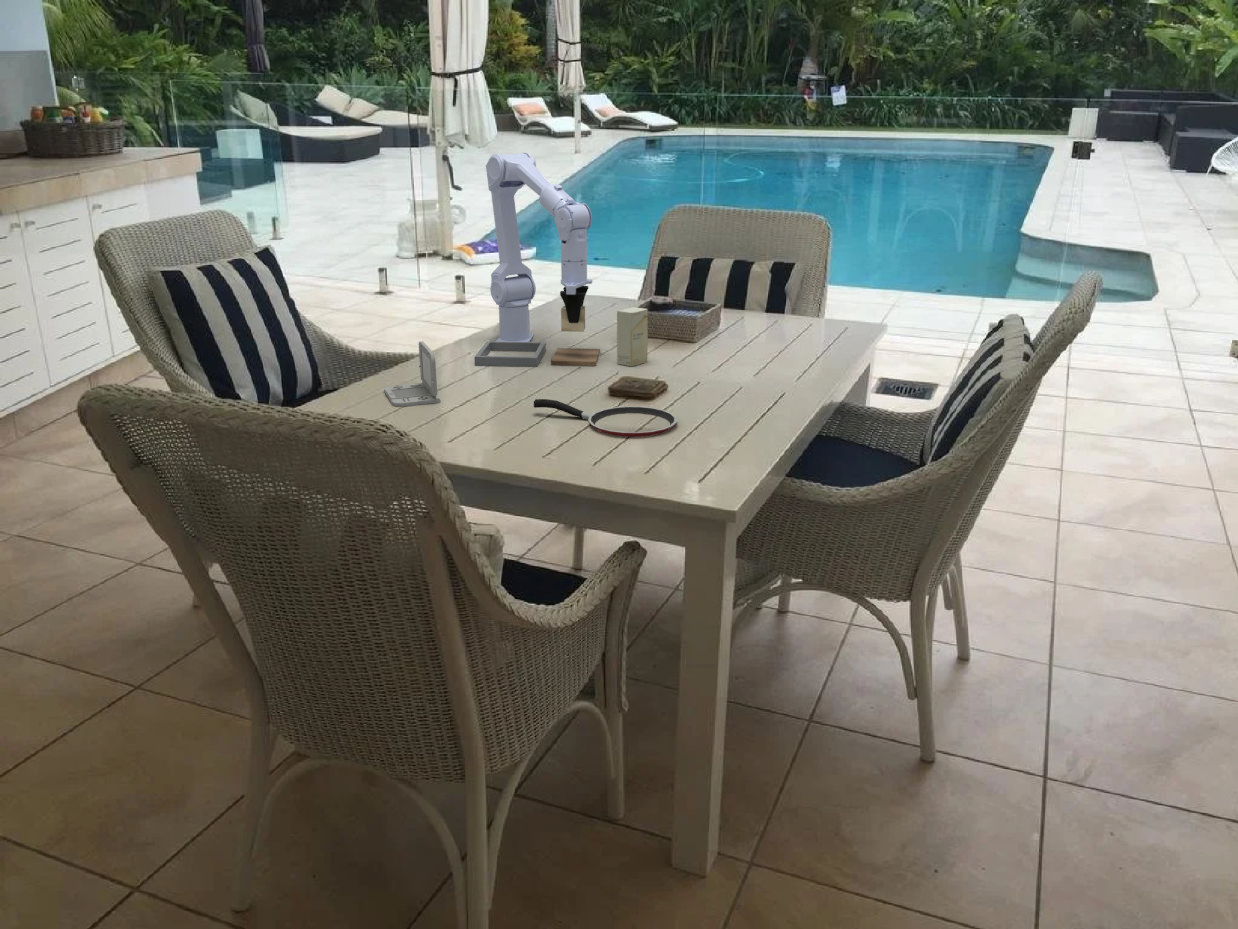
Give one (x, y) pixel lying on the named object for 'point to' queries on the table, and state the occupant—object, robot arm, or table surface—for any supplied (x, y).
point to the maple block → (572, 326)
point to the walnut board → (575, 357)
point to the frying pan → (608, 412)
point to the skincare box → (632, 336)
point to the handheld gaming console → (417, 391)
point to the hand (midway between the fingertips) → (574, 320)
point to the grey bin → (485, 360)
